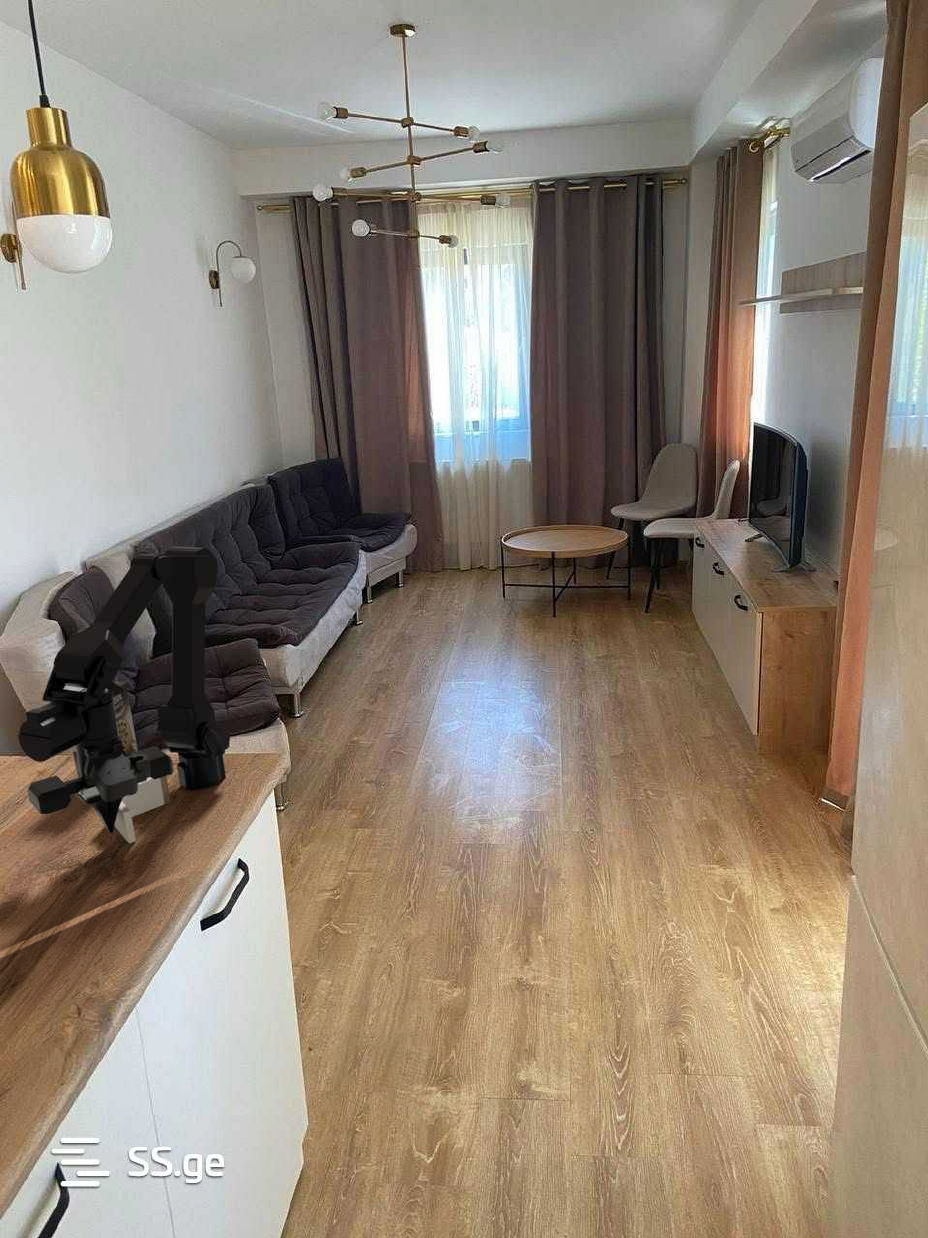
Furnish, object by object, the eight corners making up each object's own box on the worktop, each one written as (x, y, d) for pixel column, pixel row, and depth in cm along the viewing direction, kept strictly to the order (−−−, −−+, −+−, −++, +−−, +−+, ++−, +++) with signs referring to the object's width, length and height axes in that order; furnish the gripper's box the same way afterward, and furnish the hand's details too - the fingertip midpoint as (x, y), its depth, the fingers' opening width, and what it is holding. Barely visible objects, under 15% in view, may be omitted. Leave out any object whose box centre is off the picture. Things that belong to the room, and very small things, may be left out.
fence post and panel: (167, 800, 146) (162, 767, 144) (173, 803, 144) (167, 770, 143) (106, 823, 139) (100, 789, 138) (111, 828, 138) (105, 793, 136)
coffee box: (114, 793, 150) (97, 702, 145) (79, 791, 151) (60, 701, 146) (142, 767, 158) (127, 680, 153) (109, 766, 160) (92, 680, 155)
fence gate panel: (113, 825, 138) (108, 795, 137) (120, 823, 139) (114, 793, 137) (129, 843, 133) (123, 813, 131) (135, 841, 133) (130, 810, 132)
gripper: (44, 771, 116) (62, 879, 121) (183, 730, 128) (195, 830, 132) (18, 745, 124) (36, 847, 129) (151, 709, 136) (163, 803, 140)
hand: (110, 832), depth 132 cm, fingers closed
